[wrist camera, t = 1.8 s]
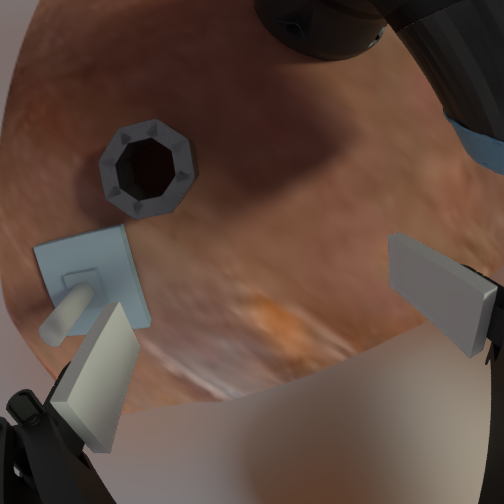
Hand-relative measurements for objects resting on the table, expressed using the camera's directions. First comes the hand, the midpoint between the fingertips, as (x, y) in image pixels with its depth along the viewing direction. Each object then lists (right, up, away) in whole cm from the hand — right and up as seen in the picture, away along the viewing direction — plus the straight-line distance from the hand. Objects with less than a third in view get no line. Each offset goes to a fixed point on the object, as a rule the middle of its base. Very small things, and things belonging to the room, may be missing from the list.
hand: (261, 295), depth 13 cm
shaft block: (-19, -2, +18) cm, 26 cm away
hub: (-10, +11, +15) cm, 21 cm away
